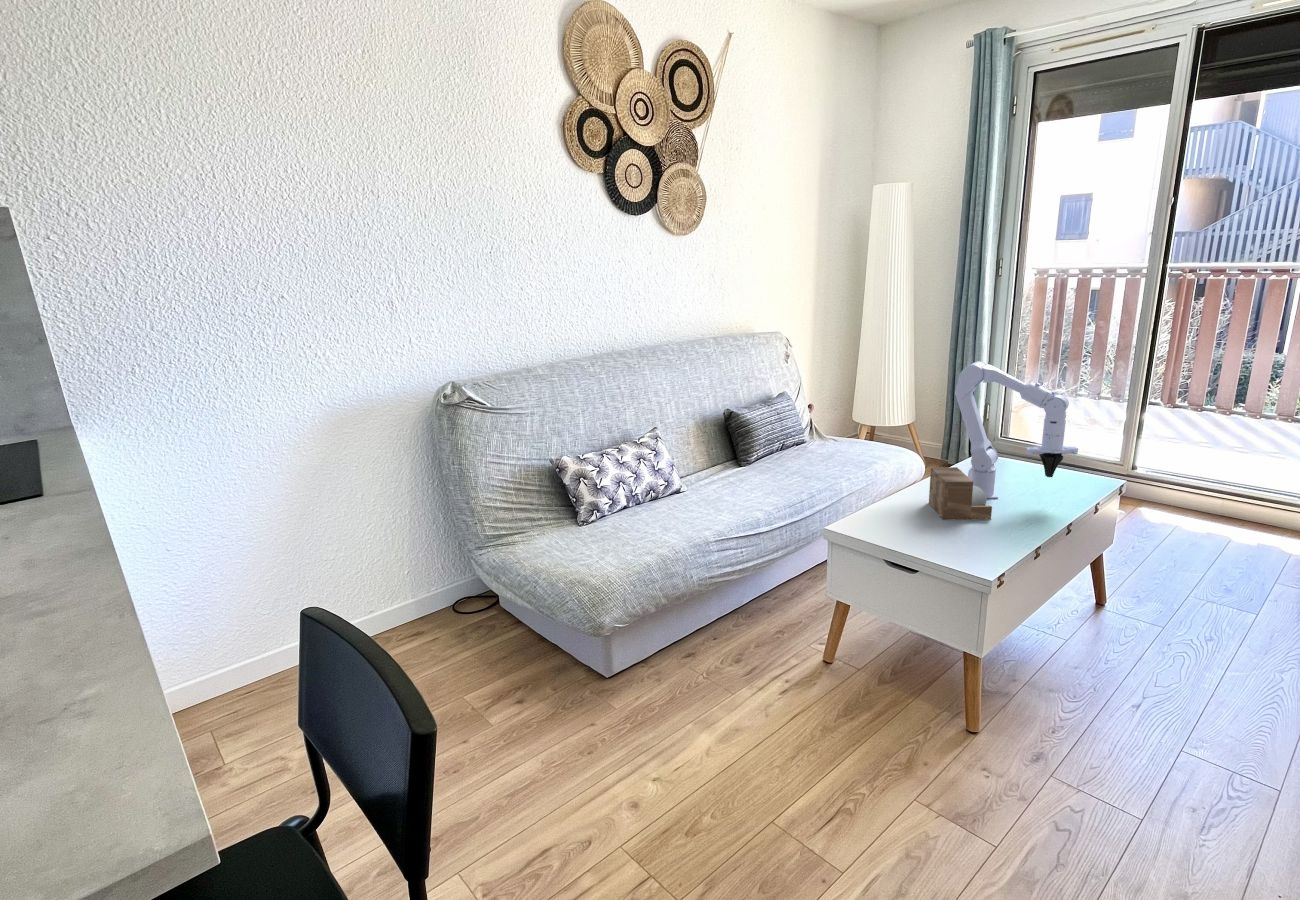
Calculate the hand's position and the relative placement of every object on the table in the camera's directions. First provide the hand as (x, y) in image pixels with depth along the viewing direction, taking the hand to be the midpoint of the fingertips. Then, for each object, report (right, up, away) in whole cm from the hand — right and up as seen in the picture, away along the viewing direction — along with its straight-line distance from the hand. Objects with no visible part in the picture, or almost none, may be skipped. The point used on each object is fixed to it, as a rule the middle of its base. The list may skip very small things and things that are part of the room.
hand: (1048, 476), depth 218 cm
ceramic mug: (-25, -11, -1) cm, 27 cm away
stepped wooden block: (-28, -11, +1) cm, 30 cm away
